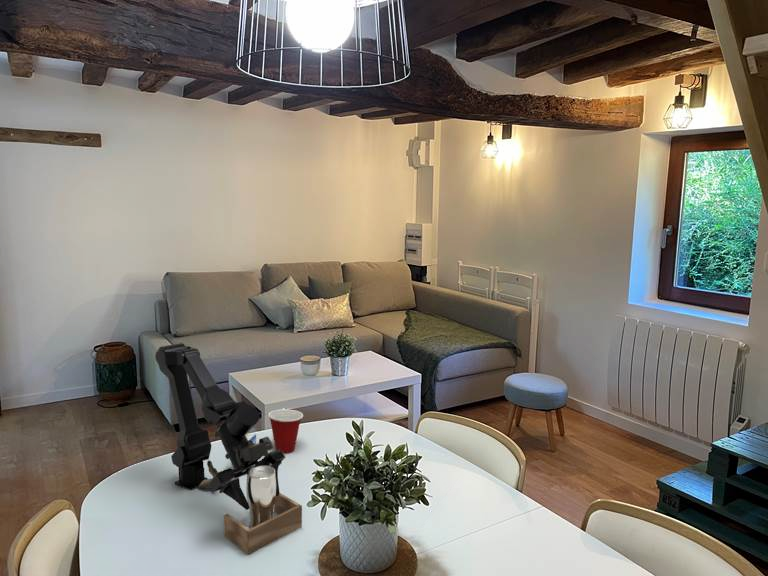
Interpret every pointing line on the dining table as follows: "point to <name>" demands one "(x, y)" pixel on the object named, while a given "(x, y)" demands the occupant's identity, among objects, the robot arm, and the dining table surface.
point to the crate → (265, 526)
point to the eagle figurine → (212, 471)
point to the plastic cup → (285, 428)
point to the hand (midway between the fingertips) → (263, 502)
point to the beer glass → (261, 494)
